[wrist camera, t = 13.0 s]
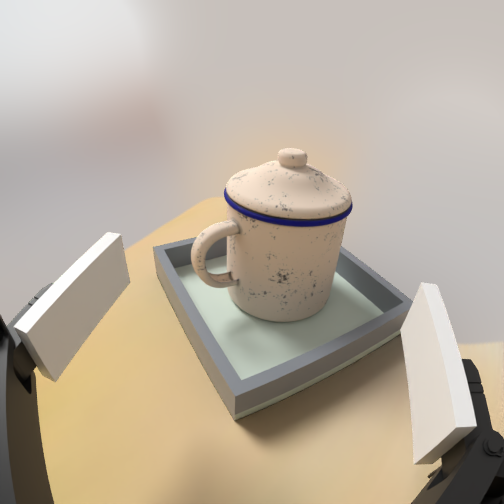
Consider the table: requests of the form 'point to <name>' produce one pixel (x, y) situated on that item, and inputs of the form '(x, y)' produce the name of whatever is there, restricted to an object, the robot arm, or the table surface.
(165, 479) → the table surface
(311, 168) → the teacup with lid
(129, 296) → the table surface
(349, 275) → the tray
